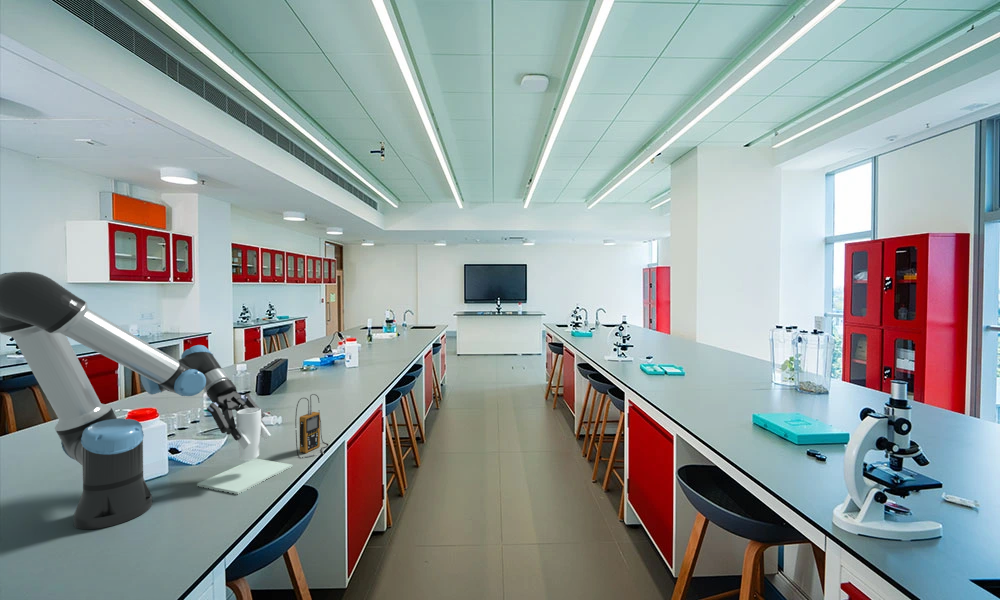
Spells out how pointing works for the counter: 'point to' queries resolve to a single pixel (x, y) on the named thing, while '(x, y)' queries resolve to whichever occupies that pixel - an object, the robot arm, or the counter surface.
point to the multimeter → (309, 430)
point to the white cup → (249, 431)
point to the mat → (244, 476)
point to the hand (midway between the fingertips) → (257, 442)
